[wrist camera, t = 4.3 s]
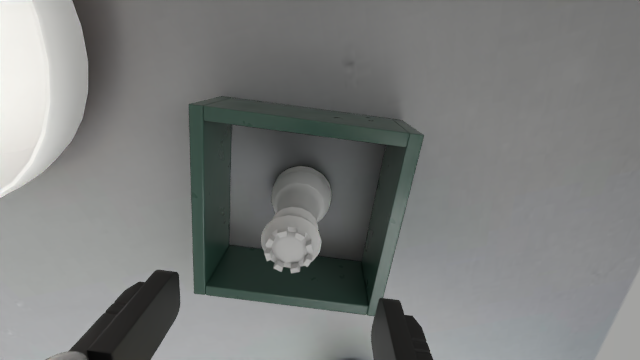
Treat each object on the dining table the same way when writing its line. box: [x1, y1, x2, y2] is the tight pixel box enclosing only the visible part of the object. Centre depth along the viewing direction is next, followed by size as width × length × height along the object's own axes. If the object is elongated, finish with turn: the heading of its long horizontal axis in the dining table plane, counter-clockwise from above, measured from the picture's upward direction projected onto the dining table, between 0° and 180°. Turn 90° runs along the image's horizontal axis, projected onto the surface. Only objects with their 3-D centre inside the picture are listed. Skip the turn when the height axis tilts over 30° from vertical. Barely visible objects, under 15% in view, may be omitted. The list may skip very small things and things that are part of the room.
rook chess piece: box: [261, 166, 332, 273], centre depth 19 cm, size 4×4×8 cm
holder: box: [189, 96, 424, 316], centre depth 20 cm, size 13×13×5 cm
